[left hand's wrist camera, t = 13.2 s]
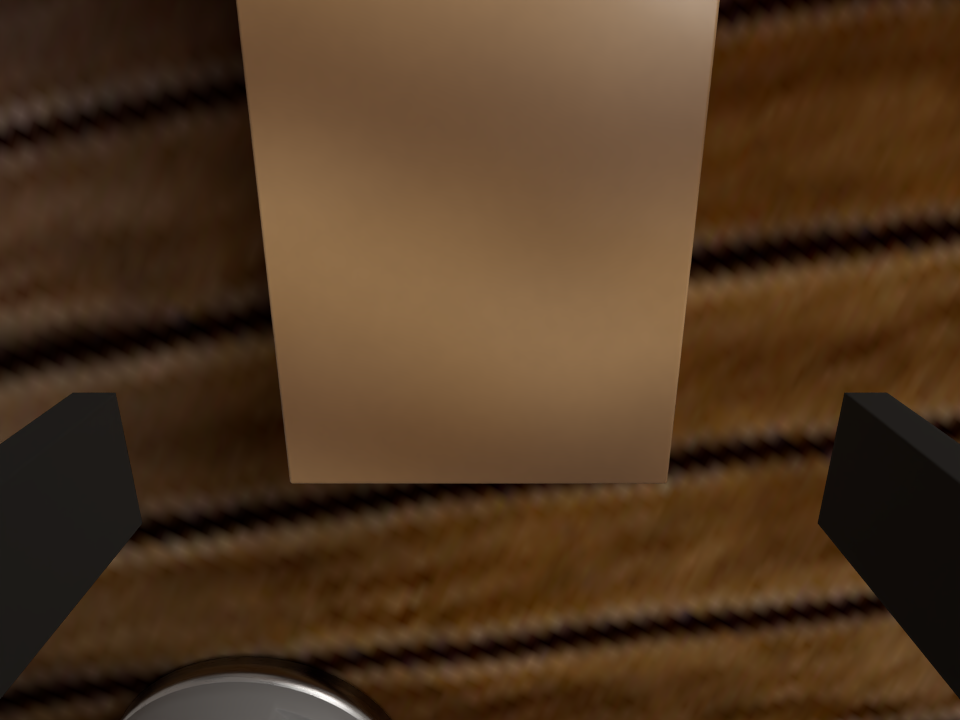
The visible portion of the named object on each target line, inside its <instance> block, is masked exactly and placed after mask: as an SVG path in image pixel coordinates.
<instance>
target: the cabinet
mask: <svg viewBox="0 0 960 720" xmlns="http://www.w3.org/2000/svg"><path fill="white" fill-rule="evenodd" d="M719 1H720V0H236V6H237V15H238V24H239V33H240V42H241V50H242V59H243V68H244V77H245V86H246V95H247V104H248V113H249V122H250V130H251V139H252V148H253V157H254V166H255V175H256V184H257V193H258V202H259V210H260V219H261V228H262V237H263V246H264V255H265V264H266V273H267V282H268V290H269V299H270V308H271V317H272V326H273V335H274V344H275V353H276V362H277V370H278V379H279V388H280V397H281V406H282V415H283V424H284V433H285V442H286V450H287V459H288V468H289V477H290V482H291V483H292V484H330V483H666V482H667V476H668V467H669V458H670V449H671V440H672V431H673V421H674V412H675V403H676V394H677V385H678V376H679V367H680V357H681V348H682V339H683V330H684V321H685V312H686V303H687V294H688V284H689V275H690V266H691V257H692V248H693V239H694V230H695V220H696V211H697V202H698V193H699V184H700V175H701V166H702V156H703V147H704V138H705V129H706V120H707V111H708V102H709V93H710V83H711V74H712V65H713V56H714V47H715V38H716V29H717V19H718V10H719Z"/></svg>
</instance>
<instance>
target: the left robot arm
mask: <svg viewBox="0 0 960 720" xmlns="http://www.w3.org/2000/svg"><path fill="white" fill-rule="evenodd" d="M141 524H142V520H141V515H140V510H139V505H138V500H137V495H136V490H135V485H134V480H133V476H132V471H131V466H130V461H129V456H128V451H127V446H126V441H125V437H124V432H123V427H122V422H121V417H120V412H119V407H118V402H117V398H116V393H72V394H71V395H69V396H68V397H66V398H65V399H63V400H62V401H61V402H59V403H58V404H56V405H55V406H54V407H52V408H51V409H49V410H48V411H47V412H45V413H44V414H42V415H41V416H39V417H38V418H37V419H35V420H34V421H32V422H31V423H30V424H28V425H27V426H25V427H24V428H22V429H21V430H20V431H18V432H17V433H15V434H14V435H13V436H11V437H10V438H8V439H7V440H5V441H4V442H3V443H1V444H0V699H1V697H2V696H3V695H4V694H5V693H6V691H7V690H8V689H9V688H10V686H11V685H12V684H13V683H14V681H15V680H16V679H17V678H18V676H19V675H20V674H21V673H22V671H23V670H24V669H25V668H26V667H27V665H28V664H29V663H30V662H31V660H32V659H33V658H34V657H35V655H36V654H37V653H38V652H39V650H40V649H41V648H42V647H43V645H44V644H45V643H46V642H47V641H48V639H49V638H50V637H51V636H52V634H53V633H54V632H55V631H56V629H57V628H58V627H59V626H60V624H61V623H62V622H63V621H64V619H65V618H66V617H67V616H68V615H69V613H70V612H71V611H72V610H73V608H74V607H75V606H76V605H77V603H78V602H79V601H80V600H81V598H82V597H83V596H84V595H85V593H86V592H87V591H88V590H89V589H90V587H91V586H92V585H93V584H94V582H95V581H96V580H97V579H98V577H99V576H100V575H101V574H102V572H103V571H104V570H105V569H106V567H107V566H108V565H109V564H110V563H111V561H112V560H113V559H114V558H115V556H116V555H117V554H118V553H119V551H120V550H121V549H122V548H123V546H124V545H125V544H126V543H127V541H128V540H129V539H130V538H131V537H132V535H133V534H134V533H135V532H136V530H137V529H138V528H139V527H140V525H141ZM818 524H819V525H820V527H821V528H822V529H823V530H824V532H825V533H826V534H827V535H828V537H829V538H830V539H831V540H832V541H833V543H834V544H835V545H836V546H837V548H838V549H839V550H840V551H841V553H842V554H843V555H844V556H845V558H846V559H847V560H848V561H849V563H850V564H851V565H852V566H853V567H854V569H855V570H856V571H857V572H858V574H859V575H860V576H861V577H862V579H863V580H864V581H865V582H866V584H867V585H868V586H869V587H870V589H871V590H872V591H873V592H874V593H875V595H876V596H877V597H878V598H879V600H880V601H881V602H882V603H883V605H884V606H885V607H886V608H887V610H888V611H889V612H890V613H891V615H892V616H893V617H894V618H895V619H896V621H897V622H898V623H899V624H900V626H901V627H902V628H903V629H904V631H905V632H906V633H907V634H908V636H909V637H910V638H911V639H912V641H913V642H914V643H915V644H916V645H917V647H918V648H919V649H920V650H921V652H922V653H923V654H924V655H925V657H926V658H927V659H928V660H929V662H930V663H931V664H932V665H933V667H934V668H935V669H936V670H937V671H938V673H939V674H940V675H941V676H942V678H943V679H944V680H945V681H946V683H947V684H948V685H949V686H950V688H951V689H952V690H953V691H954V693H955V694H956V695H957V696H958V697H959V699H960V444H959V443H957V442H956V441H955V440H953V439H952V438H950V437H949V436H947V435H946V434H945V433H943V432H942V431H940V430H939V429H938V428H936V427H935V426H933V425H932V424H930V423H929V422H928V421H926V420H925V419H923V418H922V417H921V416H919V415H918V414H916V413H915V412H913V411H912V410H911V409H909V408H908V407H906V406H905V405H904V404H902V403H901V402H899V401H898V400H897V399H895V398H894V397H892V396H891V395H889V394H888V393H844V397H843V402H842V407H841V412H840V417H839V422H838V427H837V432H836V437H835V441H834V446H833V451H832V456H831V461H830V466H829V471H828V476H827V480H826V485H825V490H824V495H823V500H822V505H821V510H820V515H819V519H818ZM121 720H391V719H390V718H389V717H388V716H387V715H386V713H385V712H384V711H383V710H382V709H381V708H380V707H379V706H378V705H377V704H376V703H375V702H374V701H372V700H371V699H370V698H369V697H367V696H366V695H365V694H364V693H362V692H361V691H359V690H358V689H356V688H355V687H353V686H352V685H350V684H348V683H346V682H344V681H343V680H341V679H339V678H337V677H335V676H333V675H330V674H328V673H326V672H324V671H321V670H318V669H315V668H312V667H310V666H306V665H302V664H299V663H295V662H290V661H285V660H280V659H272V658H264V657H229V658H221V659H214V660H209V661H204V662H200V663H196V664H193V665H189V666H186V667H184V668H181V669H179V670H176V671H174V672H172V673H170V674H168V675H166V676H164V677H162V678H160V679H159V680H157V681H156V682H154V683H153V684H151V685H150V686H149V687H147V688H146V689H145V690H144V691H143V692H141V693H140V694H139V695H138V696H137V698H136V699H135V700H134V701H133V702H132V703H131V705H130V706H129V707H128V709H127V710H126V712H125V713H124V715H123V717H122V718H121Z"/></svg>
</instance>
